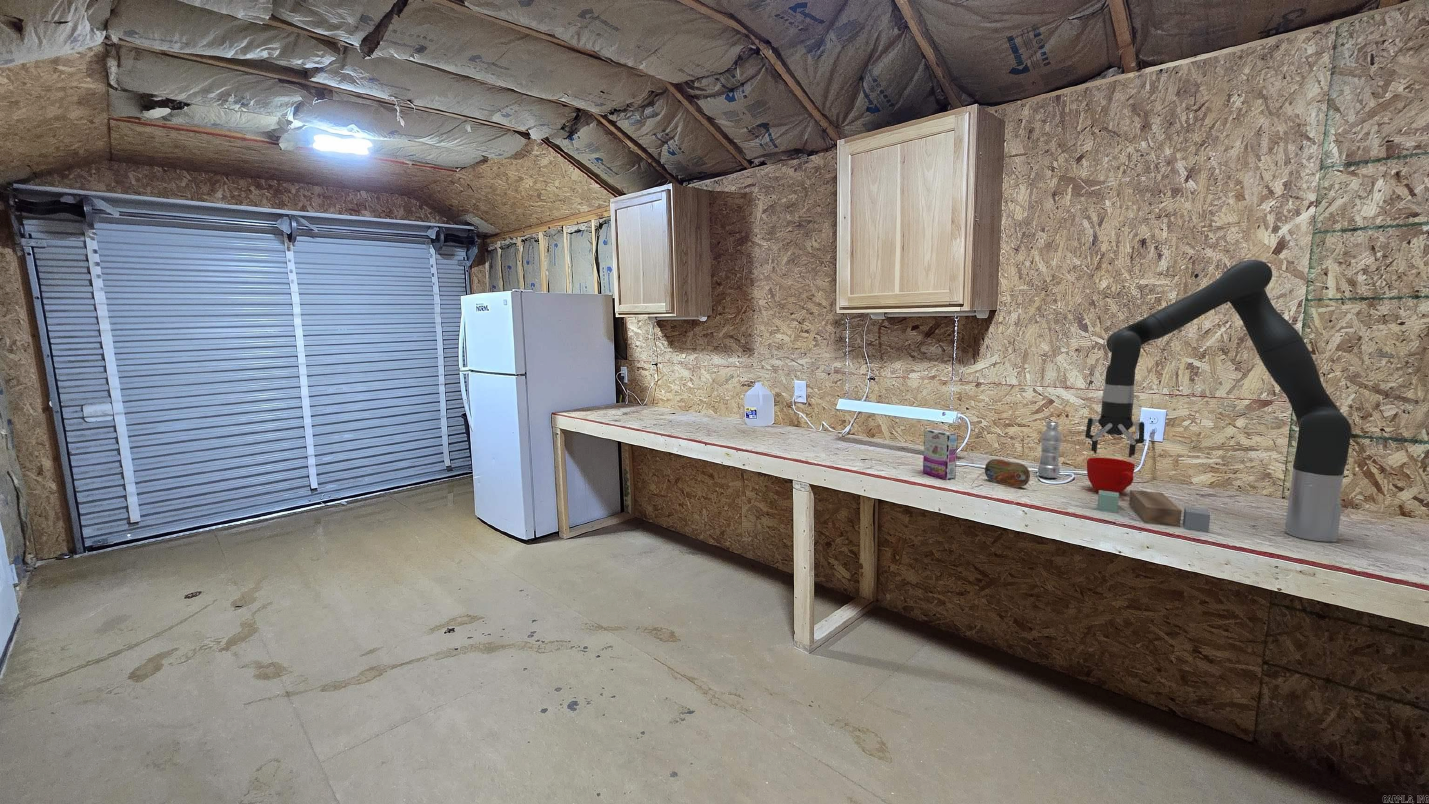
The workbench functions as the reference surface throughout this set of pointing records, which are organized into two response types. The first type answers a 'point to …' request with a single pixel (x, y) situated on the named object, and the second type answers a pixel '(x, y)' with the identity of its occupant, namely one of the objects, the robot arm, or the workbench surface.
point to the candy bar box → (940, 453)
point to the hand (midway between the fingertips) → (1112, 454)
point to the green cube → (1108, 501)
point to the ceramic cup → (1110, 474)
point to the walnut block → (1155, 508)
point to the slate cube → (1196, 519)
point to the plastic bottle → (1050, 451)
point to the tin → (1007, 473)
